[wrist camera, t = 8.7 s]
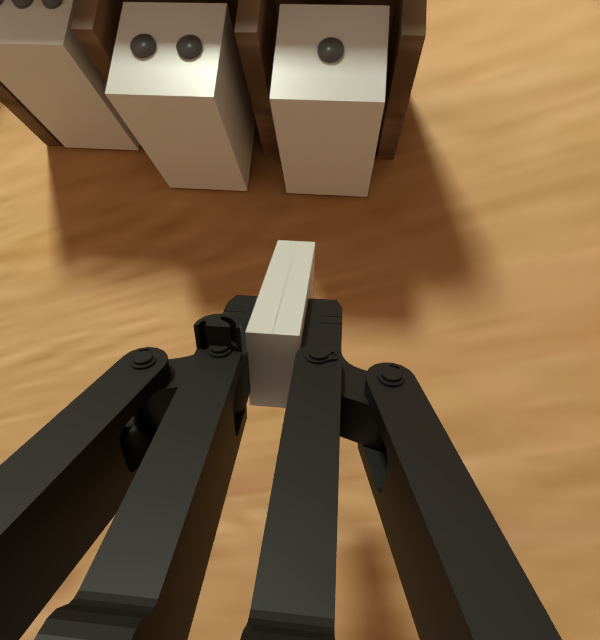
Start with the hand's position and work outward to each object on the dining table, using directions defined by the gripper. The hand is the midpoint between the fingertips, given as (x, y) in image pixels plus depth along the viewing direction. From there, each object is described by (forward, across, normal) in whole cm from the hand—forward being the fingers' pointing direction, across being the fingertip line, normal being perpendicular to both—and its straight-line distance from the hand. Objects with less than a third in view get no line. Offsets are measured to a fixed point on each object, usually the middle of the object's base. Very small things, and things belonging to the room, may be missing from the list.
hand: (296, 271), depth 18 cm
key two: (+18, -8, 0) cm, 20 cm away
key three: (+21, -17, +3) cm, 27 cm away
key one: (+18, +1, 0) cm, 18 cm away
